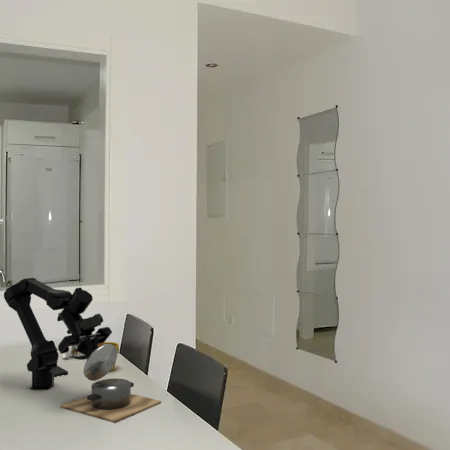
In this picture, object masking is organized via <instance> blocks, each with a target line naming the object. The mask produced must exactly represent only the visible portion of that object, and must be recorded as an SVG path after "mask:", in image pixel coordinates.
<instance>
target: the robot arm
mask: <svg viewBox="0 0 450 450" xmlns="http://www.w3.org/2000/svg"><path fill="white" fill-rule="evenodd" d="M73 291H74V292H72V293H71V292H70V291H69V290H65V289H55V288H53V287H51V286H49V285H48V284H45V283H43V282H42V281H39V280H37V279H36V278H35V277H27V278H22V279H21V280H20V281H19V282H16V283H15V284H12V285H10V286H9V287H7V288H6V290H5V291H4V293H3V299H4V300H5V303H6V304H7V305H8V307H9V308H11V309H13V310H14V311H15V312H16V314H17V316H18V318H19V320H20V323H21V324H22V327H23V329H24V332H25V334H26V336H27V338H28V341H29V342H30V344H31V348H30V359H29V361H28V363H26V368H27V372H31V387H30V390H49V389H51V387H53V385H54V384H55V377H54V372H52V368H55V367H56V366H58V362H59V361H58V360H59V356H60V355H59V353H60V354H61V355H62V354H63V353H67V352H68V351H69V346H73V345H76V346H77V349H76V352H80V353H82V354H84V355H86V356H88V357H89V356H90V355H91V353H92V352H93V351H94V350H95V349H97V348H98V344H101V343H104V342H107V339H109V337H110V336H111V334H112V333H113V331H112V330H111V328H110V327H109V326H104V327H100V328H98V329H97V331H96V332H95V330H96V328H97V327H99V326H101V325H102V323H103V322H104V319H103V315H101V313H96V314H95V315H93V316H90V317H87V318H83V317H82V314H83V313H85V311H86V310H87V309H88V307H89V306H90V304H91V303H92V301H93V295H92V294H91V293H90V292H88V291H87V290H84V289H83V288H82V287H76V288H75V289H74V290H73ZM32 295H35V296H36V297H38V298H40V299H42V300H44V301H45V303H46V305H47V306H48V307H49V308H50V309H51V310H53V311H58V310H61V311H60V312H58V316H57V319H56V321H57V322H62V321H63V323H64V325H65V327H66V328H67V331H66V333H67V334H68V335H66V336H64V337H63V338H62V339H61V340H60V342H59V344H58V345H57V346H58V347H57V346H56V344H55V341H53V340H52V339H51V340H48V339H46V337H45V335H44V333H43V331H42V329H41V326H40V324H39V322H38V320H37V317H36V316H35V313H34V311H33V309H32V307H31V300H32ZM93 332H94V333H93Z"/></svg>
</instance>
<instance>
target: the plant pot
mask: <svg viewBox="0 0 450 450" xmlns="http://www.w3.org/2000/svg"><path fill="white" fill-rule="evenodd" d="M104 344H112V345H113V346H114V347H116V349H117V355H118V354H119V353H120V345H119V343H118V342H114V341H105V342H104V343H101V344H98V347H99V346H101V345H104ZM116 362H117V361H116ZM116 362H115V364H114V366H113V367H112V369H111V370H110V371H109V372H113V371H114V370H115V369H116V364H117V363H116ZM109 372H108V373H109Z"/></svg>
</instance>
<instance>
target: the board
mask: <svg viewBox="0 0 450 450" xmlns="http://www.w3.org/2000/svg"><path fill="white" fill-rule="evenodd" d="M160 404H162V400H158V399H154V398H151V397H150V398H149V397H147V396H142V395H137V394H133V393H131V403H130V404H129V405H128V406H126V407H123V408H119V409H114V410H100V409H96V408H94V407H92V401H91V400H87V395H85V396H83V397H80V398H78V399H75V400H72V401H68V402H67V403H66V402H65V403H63V404H61V405H60V408H62V409H64V410H65V409H66V410H69V411H73V412H76V413H78V414H79V413H80V414H82V415H87V416H90V417H93V418H97V419H101V420H105V421H106V422H107V421H108V422H111V423H114V424H116V423H118V422H120V421H123V420H125V419H128V418H130V417H132V416H135V415H136V414H139V413H142V412H144V411H146V410H148V409H151V408H154V407H155V406H158V405H160Z"/></svg>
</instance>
